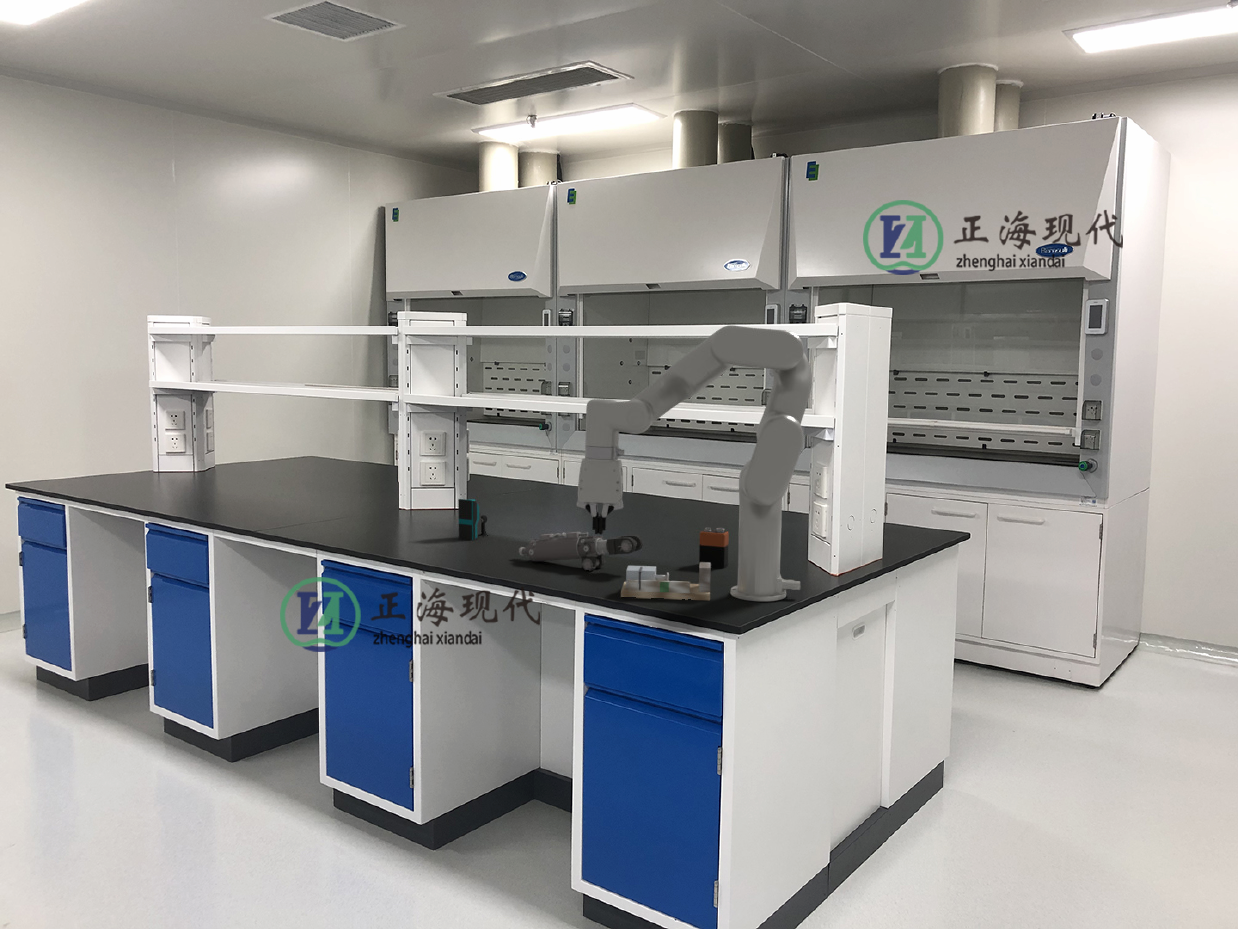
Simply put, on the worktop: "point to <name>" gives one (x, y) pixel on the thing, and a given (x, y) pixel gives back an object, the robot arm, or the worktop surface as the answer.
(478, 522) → the black teal case
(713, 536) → the battery
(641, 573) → the force gauge
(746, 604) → the worktop surface
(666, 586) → the gauge stand
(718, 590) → the worktop surface
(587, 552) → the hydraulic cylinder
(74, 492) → the worktop surface
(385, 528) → the worktop surface
